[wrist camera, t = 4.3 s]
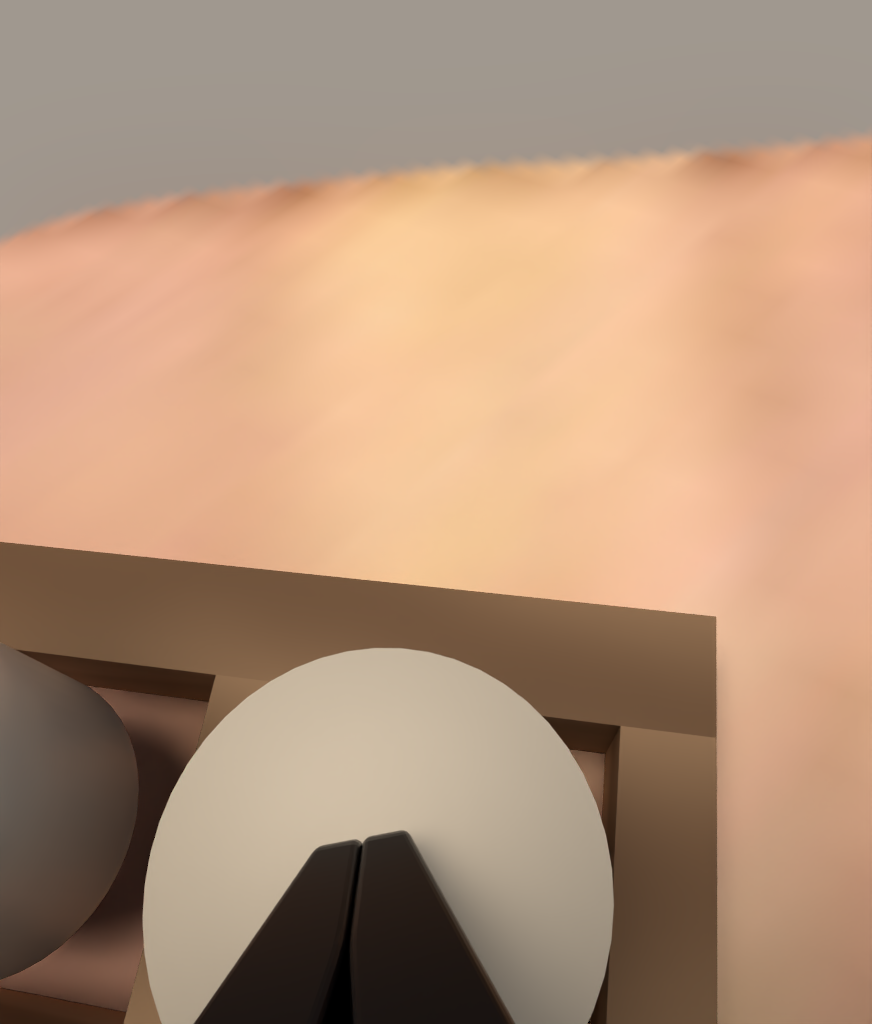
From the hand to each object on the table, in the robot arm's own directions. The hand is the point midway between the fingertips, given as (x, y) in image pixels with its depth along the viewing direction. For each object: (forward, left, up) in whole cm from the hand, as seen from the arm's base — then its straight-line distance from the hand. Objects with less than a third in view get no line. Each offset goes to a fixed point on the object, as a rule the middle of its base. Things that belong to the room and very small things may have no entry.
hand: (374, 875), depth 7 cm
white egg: (0, 0, -6) cm, 6 cm away
